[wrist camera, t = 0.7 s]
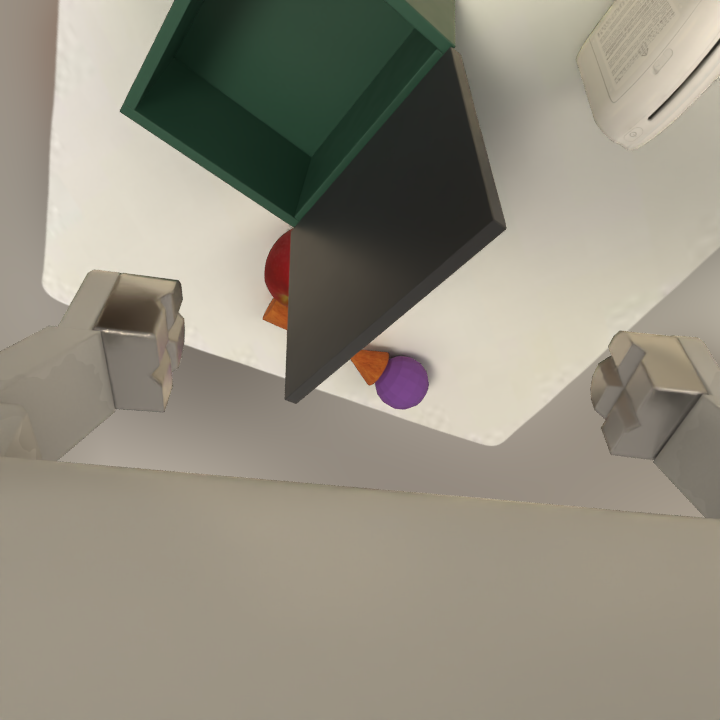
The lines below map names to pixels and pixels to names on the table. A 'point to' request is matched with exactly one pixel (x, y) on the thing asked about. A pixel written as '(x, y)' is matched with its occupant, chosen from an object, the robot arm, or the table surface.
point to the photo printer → (649, 65)
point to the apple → (279, 269)
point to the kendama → (376, 368)
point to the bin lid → (390, 227)
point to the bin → (284, 86)
